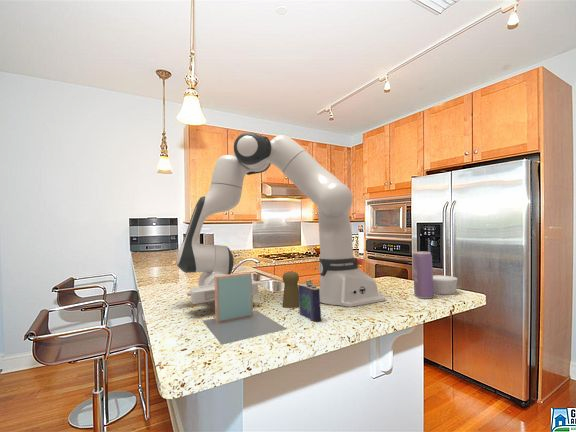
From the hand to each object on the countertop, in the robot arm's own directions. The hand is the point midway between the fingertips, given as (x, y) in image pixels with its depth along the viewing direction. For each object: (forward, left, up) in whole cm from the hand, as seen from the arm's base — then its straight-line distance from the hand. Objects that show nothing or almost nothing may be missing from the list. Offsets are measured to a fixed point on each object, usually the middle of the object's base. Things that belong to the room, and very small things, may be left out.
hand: (232, 295), depth 79 cm
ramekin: (-73, -5, -7) cm, 74 cm away
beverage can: (-63, -1, -7) cm, 64 cm away
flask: (-20, +8, -7) cm, 23 cm away
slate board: (-2, +7, -6) cm, 10 cm away
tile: (0, +2, -6) cm, 6 cm away
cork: (-18, -5, -7) cm, 20 cm away
